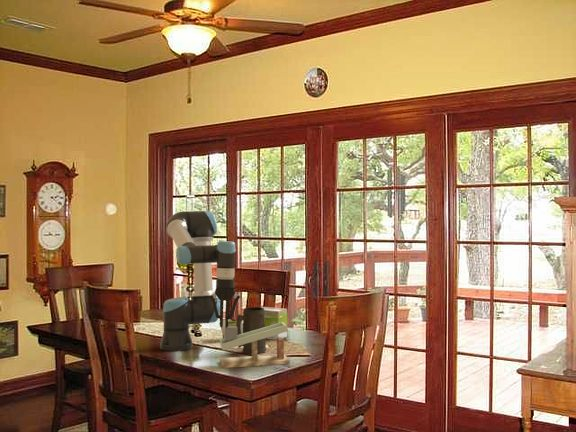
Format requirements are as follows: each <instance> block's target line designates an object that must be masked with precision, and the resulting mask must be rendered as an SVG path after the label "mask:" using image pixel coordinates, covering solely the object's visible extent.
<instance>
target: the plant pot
mask: <svg viewBox="0 0 576 432" xmlns="http://www.w3.org/2000/svg"><path fill="white" fill-rule="evenodd" d="M236 323H237V320H236V321H234V320H228V326H236ZM219 325H220V322H219ZM220 329H221V331H222V327H220ZM221 336H222V339H224V336H223V335H222V334H221Z"/></svg>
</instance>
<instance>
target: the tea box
mask: <svg viewBox="0 0 576 432" xmlns="http://www.w3.org/2000/svg"><path fill="white" fill-rule="evenodd" d="M260 307H261V308H264V310H265V327H267V326H271V325H274V324H277V323H281V322H283V323H285V324H286V326H287V327H288V309H287V308H281V307H269V306H260ZM277 337H282V338H283V339H285V338H287V337H288V331H287V332H284V333H281V334H277V335H274V336H270V337H267V338H266V340H267V339H268V340H273V341H274V340H275V341H277Z"/></svg>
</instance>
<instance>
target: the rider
mask: <svg viewBox="0 0 576 432" xmlns="http://www.w3.org/2000/svg"><path fill="white" fill-rule="evenodd" d="M237 331H238V328H237V326H228V327H225V336H224V342H229V341H232V340H236V339H237Z"/></svg>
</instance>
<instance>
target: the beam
mask: <svg viewBox="0 0 576 432" xmlns="http://www.w3.org/2000/svg"><path fill="white" fill-rule="evenodd" d="M284 332H287V333H288V325H287V326H286V324H285V323H283V322H281V323H277V324H274V325H271V326H267V327H264V328H260V329H257V330H253V331H250V332H247V333H243V332H242V333H241V334H240V335H237V339H236V340H232V341H229V342H224V339H223V338H222V339H219V343H220V347H221V349H222V351H226V350H229V349H233V348H236V347H238V346H240V345H243V344H247V343H250V342H253V341H257V340H260V339H264V338H267V337H270V336H274V335H277V334H281V333H284Z"/></svg>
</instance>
